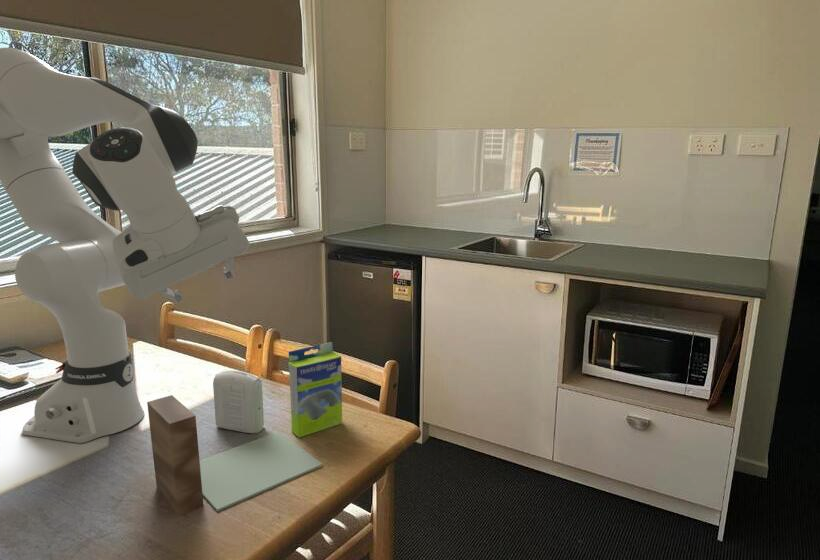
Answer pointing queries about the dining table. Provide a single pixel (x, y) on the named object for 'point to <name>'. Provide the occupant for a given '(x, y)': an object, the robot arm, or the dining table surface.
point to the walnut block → (175, 454)
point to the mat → (252, 469)
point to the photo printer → (238, 401)
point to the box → (315, 389)
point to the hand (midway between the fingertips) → (205, 287)
